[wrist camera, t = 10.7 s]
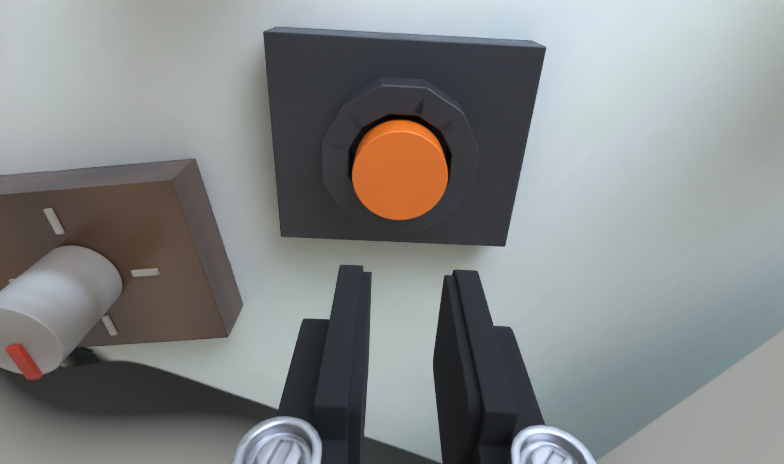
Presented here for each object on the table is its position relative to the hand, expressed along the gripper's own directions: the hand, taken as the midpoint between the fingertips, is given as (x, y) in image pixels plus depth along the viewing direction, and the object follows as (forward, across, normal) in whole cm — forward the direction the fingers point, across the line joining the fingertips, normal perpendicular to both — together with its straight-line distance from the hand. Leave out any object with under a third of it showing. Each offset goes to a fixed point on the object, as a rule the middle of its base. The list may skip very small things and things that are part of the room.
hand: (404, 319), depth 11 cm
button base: (+14, 0, 0) cm, 14 cm away
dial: (+11, +17, +8) cm, 21 cm away
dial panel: (+14, +16, +8) cm, 23 cm away
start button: (+11, 0, 0) cm, 11 cm away
